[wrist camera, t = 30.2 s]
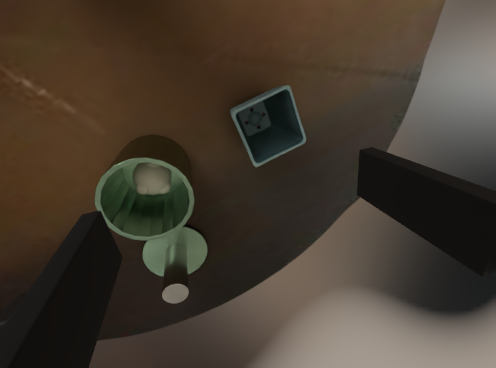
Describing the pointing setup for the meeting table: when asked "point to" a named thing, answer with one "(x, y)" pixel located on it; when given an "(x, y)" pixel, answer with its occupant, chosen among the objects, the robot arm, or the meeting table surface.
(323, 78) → the meeting table surface
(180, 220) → the trash can
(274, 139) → the flower pot
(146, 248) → the bin lid
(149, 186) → the paper ball
